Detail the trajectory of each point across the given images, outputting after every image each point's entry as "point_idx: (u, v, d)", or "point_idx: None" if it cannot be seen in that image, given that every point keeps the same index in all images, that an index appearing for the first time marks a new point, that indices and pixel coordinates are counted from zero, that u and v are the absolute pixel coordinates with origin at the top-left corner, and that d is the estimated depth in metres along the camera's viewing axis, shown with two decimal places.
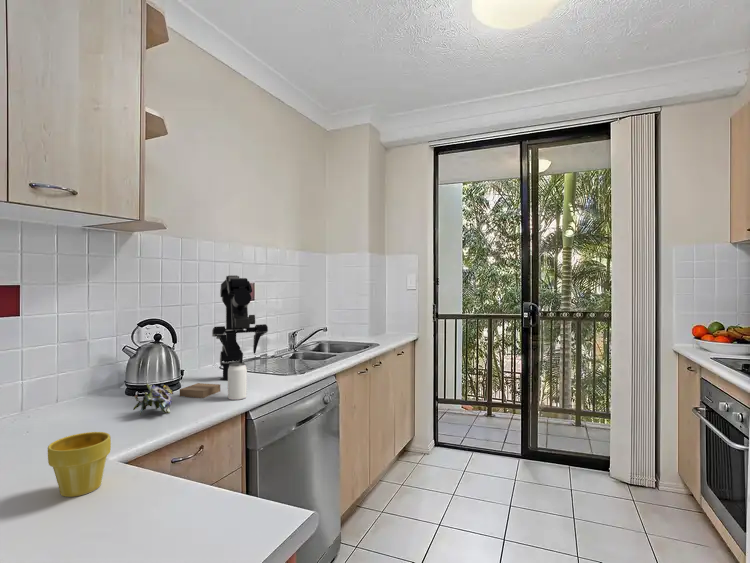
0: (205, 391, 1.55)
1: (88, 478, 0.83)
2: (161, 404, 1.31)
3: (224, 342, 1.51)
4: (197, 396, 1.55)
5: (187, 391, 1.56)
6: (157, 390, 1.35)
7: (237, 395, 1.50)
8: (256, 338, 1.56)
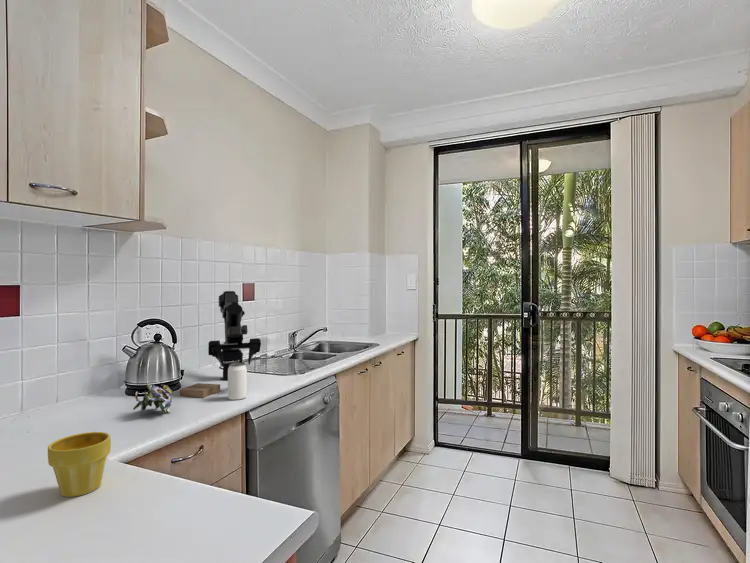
0: (205, 391, 1.55)
1: (88, 478, 0.83)
2: (161, 404, 1.31)
3: (219, 353, 1.58)
4: (197, 396, 1.55)
5: (187, 391, 1.56)
6: (157, 390, 1.35)
7: (237, 395, 1.50)
8: (250, 350, 1.62)
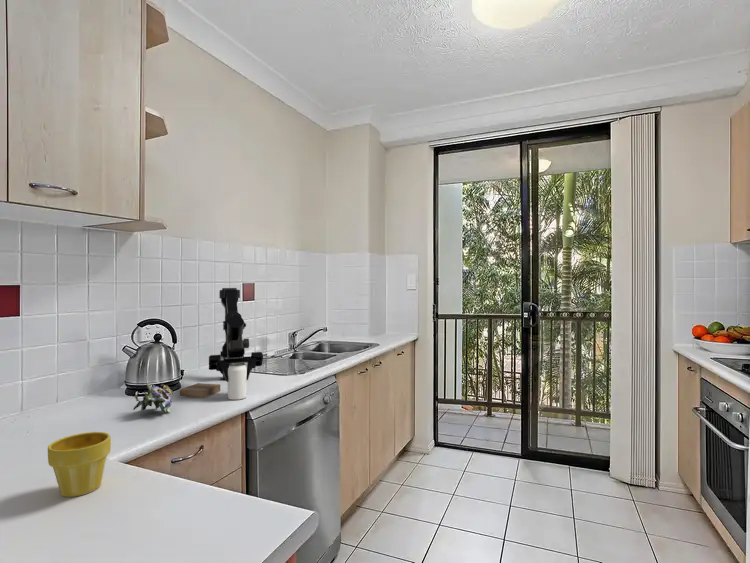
0: (205, 391, 1.55)
1: (88, 478, 0.83)
2: (161, 404, 1.31)
3: (223, 368, 1.53)
4: (197, 396, 1.55)
5: (187, 391, 1.56)
6: (157, 390, 1.35)
7: (237, 395, 1.50)
8: (248, 364, 1.56)
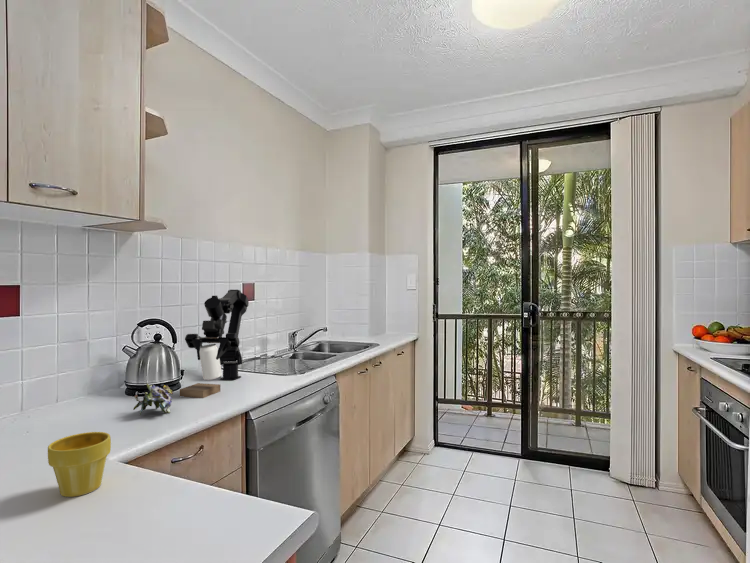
0: (205, 391, 1.55)
1: (88, 478, 0.83)
2: (161, 404, 1.31)
3: (197, 347, 1.58)
4: (197, 396, 1.55)
5: (187, 391, 1.56)
6: (157, 390, 1.35)
7: (207, 375, 1.55)
8: (220, 345, 1.59)
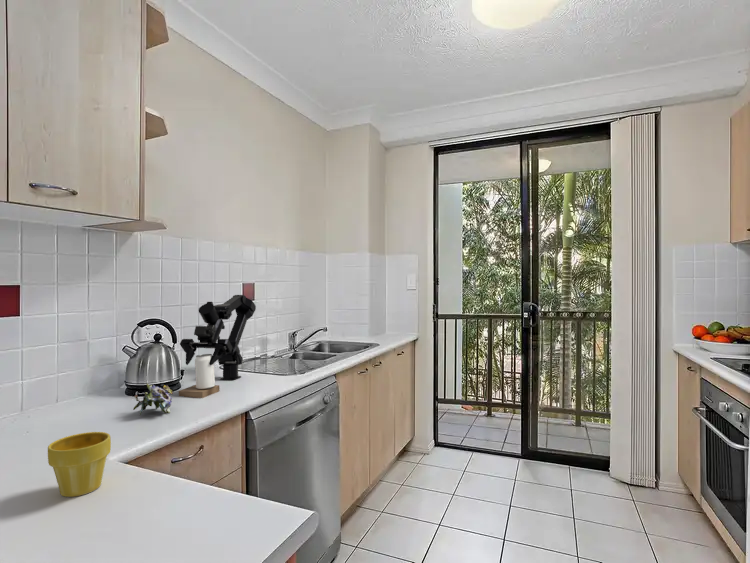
0: (204, 392, 1.55)
1: (88, 478, 0.83)
2: (161, 404, 1.31)
3: (187, 352, 1.61)
4: (196, 397, 1.55)
5: (186, 392, 1.56)
6: (157, 390, 1.35)
7: (199, 384, 1.57)
8: (215, 350, 1.61)
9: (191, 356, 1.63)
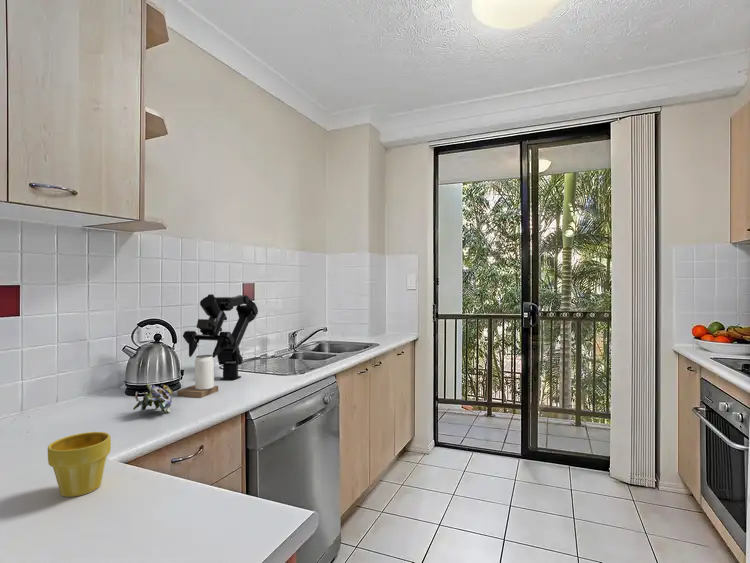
0: (203, 392, 1.56)
1: (88, 478, 0.83)
2: (161, 404, 1.31)
3: (189, 344, 1.65)
4: (195, 397, 1.55)
5: (185, 392, 1.56)
6: (157, 390, 1.35)
7: (198, 385, 1.57)
8: (217, 343, 1.64)
9: (194, 348, 1.66)
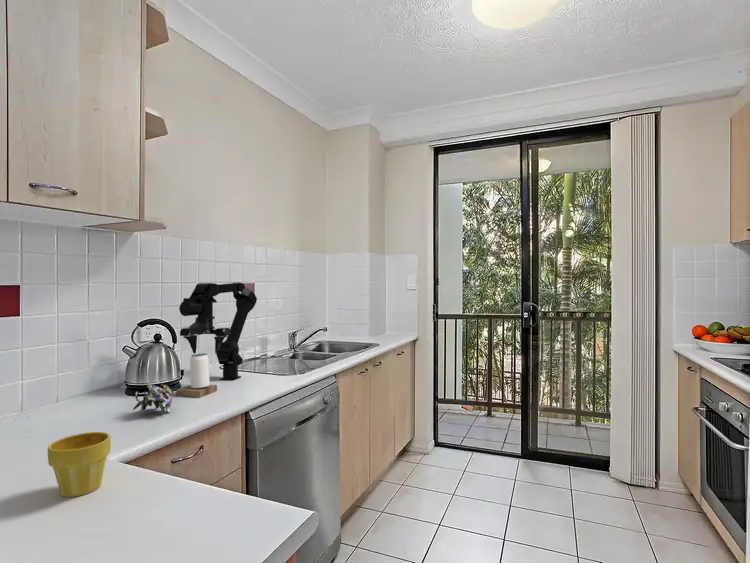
0: (202, 391, 1.56)
1: (88, 478, 0.83)
2: (161, 404, 1.31)
3: (190, 342, 1.72)
4: (194, 396, 1.55)
5: (184, 391, 1.56)
6: (157, 390, 1.35)
7: (193, 384, 1.57)
8: (216, 341, 1.70)
9: (195, 342, 1.74)
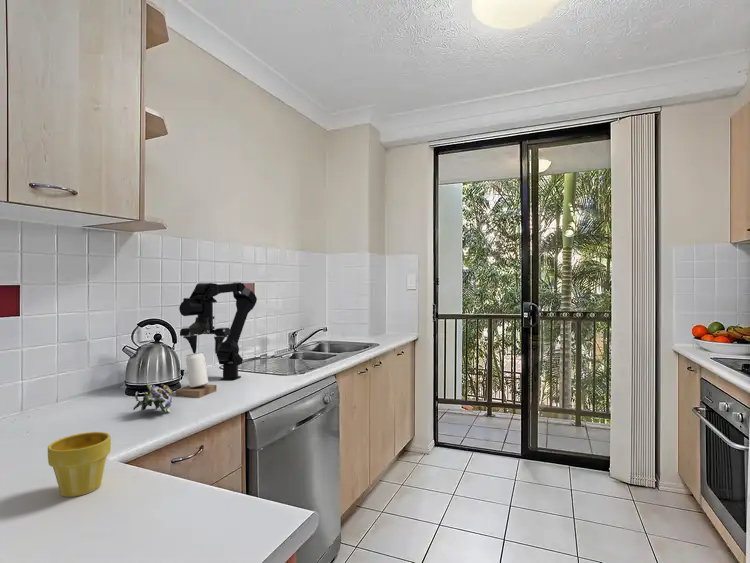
0: (201, 391, 1.56)
1: (88, 478, 0.83)
2: (161, 404, 1.31)
3: (190, 342, 1.72)
4: (193, 396, 1.55)
5: (183, 391, 1.56)
6: (157, 390, 1.35)
7: (191, 382, 1.58)
8: (216, 341, 1.70)
9: (195, 342, 1.74)
